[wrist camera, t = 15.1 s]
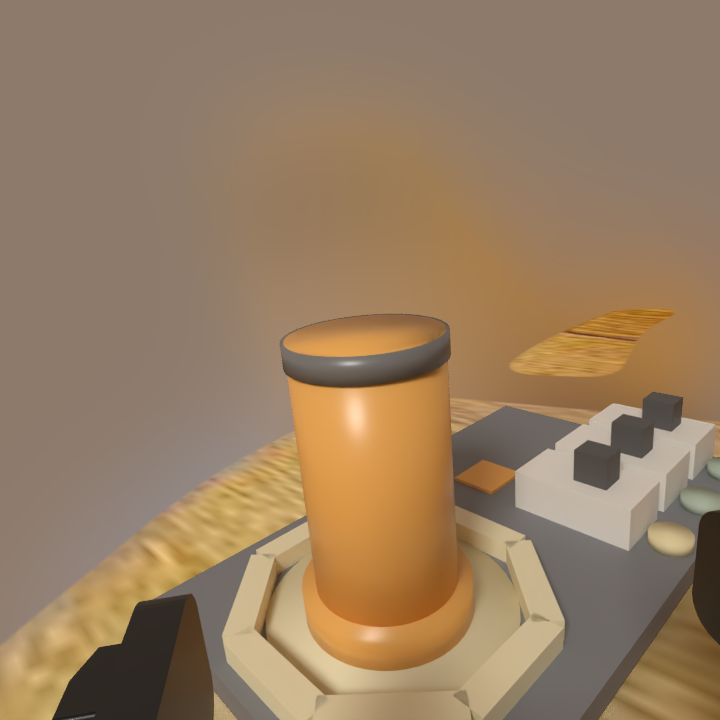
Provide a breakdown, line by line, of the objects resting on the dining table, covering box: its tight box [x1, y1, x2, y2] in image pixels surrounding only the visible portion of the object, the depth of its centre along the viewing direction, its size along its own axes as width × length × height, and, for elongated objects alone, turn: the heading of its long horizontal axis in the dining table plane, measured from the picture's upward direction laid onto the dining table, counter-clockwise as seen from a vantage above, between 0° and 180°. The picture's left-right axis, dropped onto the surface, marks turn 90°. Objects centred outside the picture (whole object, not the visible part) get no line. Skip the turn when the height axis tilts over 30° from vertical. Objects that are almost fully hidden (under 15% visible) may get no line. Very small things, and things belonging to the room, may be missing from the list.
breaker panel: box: [153, 392, 720, 720], centre depth 23 cm, size 24×14×4 cm, turn 133°
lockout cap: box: [280, 314, 474, 671], centre depth 19 cm, size 6×6×10 cm
